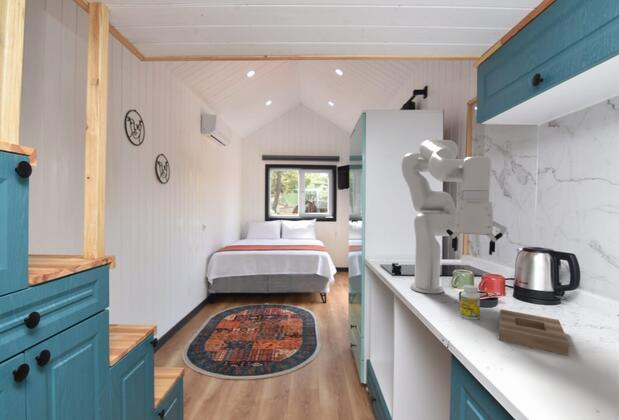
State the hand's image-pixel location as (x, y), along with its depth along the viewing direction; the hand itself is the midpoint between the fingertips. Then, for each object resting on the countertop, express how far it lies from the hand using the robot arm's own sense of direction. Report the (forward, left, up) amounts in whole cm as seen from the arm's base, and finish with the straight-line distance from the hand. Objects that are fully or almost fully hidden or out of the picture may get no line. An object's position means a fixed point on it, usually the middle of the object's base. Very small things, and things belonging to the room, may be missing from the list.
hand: (472, 252), depth 95 cm
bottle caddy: (+5, +15, -20) cm, 25 cm away
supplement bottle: (0, 0, -20) cm, 20 cm away
